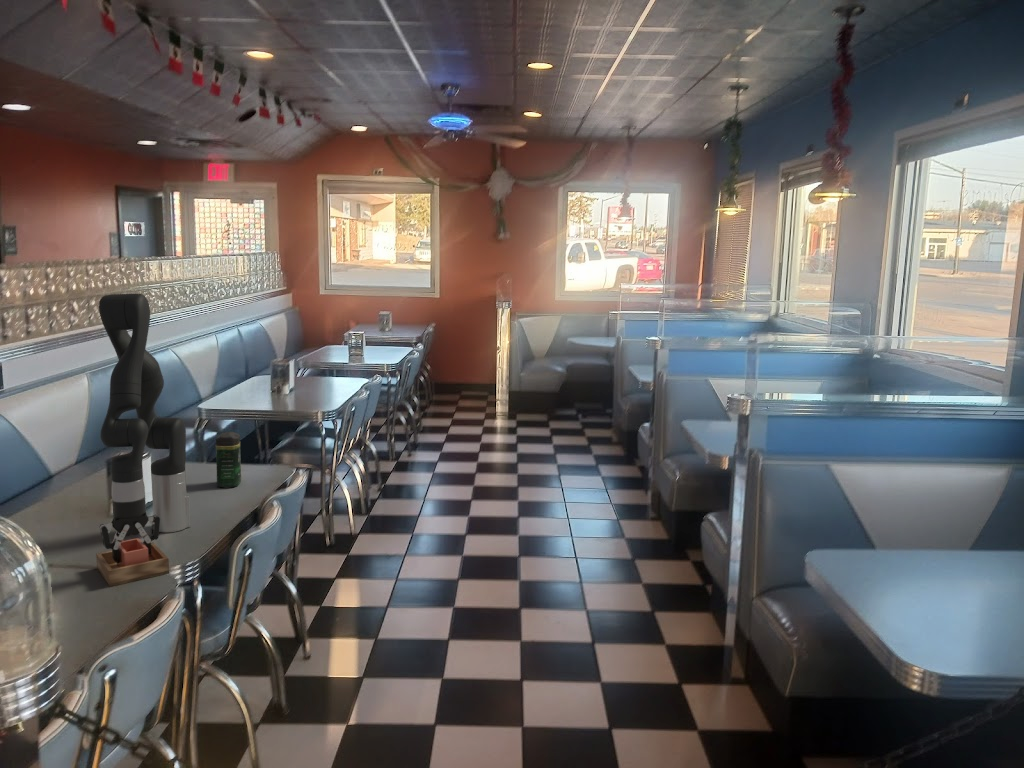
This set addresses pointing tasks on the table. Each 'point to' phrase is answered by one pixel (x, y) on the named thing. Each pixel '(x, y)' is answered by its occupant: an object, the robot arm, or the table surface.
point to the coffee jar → (228, 459)
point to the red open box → (132, 552)
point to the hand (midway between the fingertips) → (132, 559)
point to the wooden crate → (132, 567)
